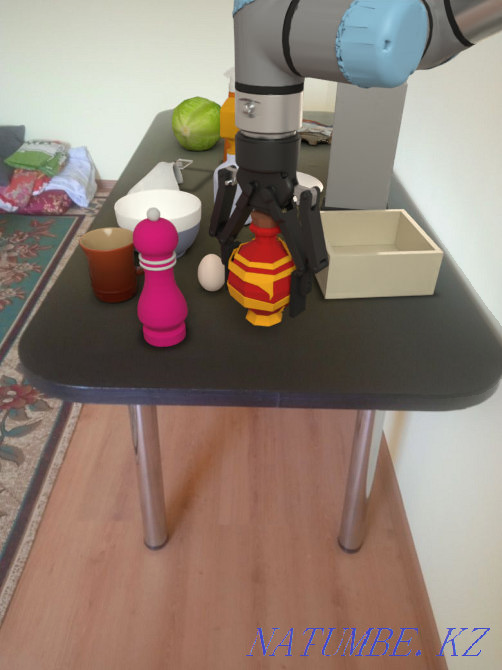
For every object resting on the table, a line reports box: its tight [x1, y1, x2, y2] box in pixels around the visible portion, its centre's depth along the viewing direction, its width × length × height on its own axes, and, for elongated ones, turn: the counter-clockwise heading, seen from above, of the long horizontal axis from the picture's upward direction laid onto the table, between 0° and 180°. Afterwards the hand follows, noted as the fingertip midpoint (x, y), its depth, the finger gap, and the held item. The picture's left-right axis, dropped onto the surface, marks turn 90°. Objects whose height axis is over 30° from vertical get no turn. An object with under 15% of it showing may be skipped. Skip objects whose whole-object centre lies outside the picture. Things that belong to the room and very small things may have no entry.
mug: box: [78, 226, 145, 304], centre depth 85 cm, size 12×9×10 cm
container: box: [320, 80, 409, 211], centre depth 109 cm, size 7×18×30 cm, turn 80°
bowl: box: [113, 189, 202, 260], centre depth 98 cm, size 16×16×10 cm
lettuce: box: [171, 95, 222, 152], centre depth 155 cm, size 15×23×16 cm
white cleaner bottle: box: [213, 97, 254, 226], centre depth 108 cm, size 9×9×25 cm
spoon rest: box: [126, 161, 184, 195], centre depth 120 cm, size 24×12×7 cm, turn 173°
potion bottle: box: [227, 210, 296, 327], centre depth 68 cm, size 10×10×15 cm
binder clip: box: [173, 158, 194, 178], centre depth 135 cm, size 6×4×6 cm, turn 162°
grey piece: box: [297, 118, 333, 146], centre depth 169 cm, size 30×22×5 cm
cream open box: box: [314, 208, 445, 300], centre depth 93 cm, size 19×19×8 cm
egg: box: [197, 253, 225, 292], centre depth 87 cm, size 5×5×7 cm
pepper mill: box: [133, 207, 189, 348], centre depth 72 cm, size 7×7×20 cm
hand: (263, 299), depth 71 cm, fingers closed on potion bottle, 10 cm apart
